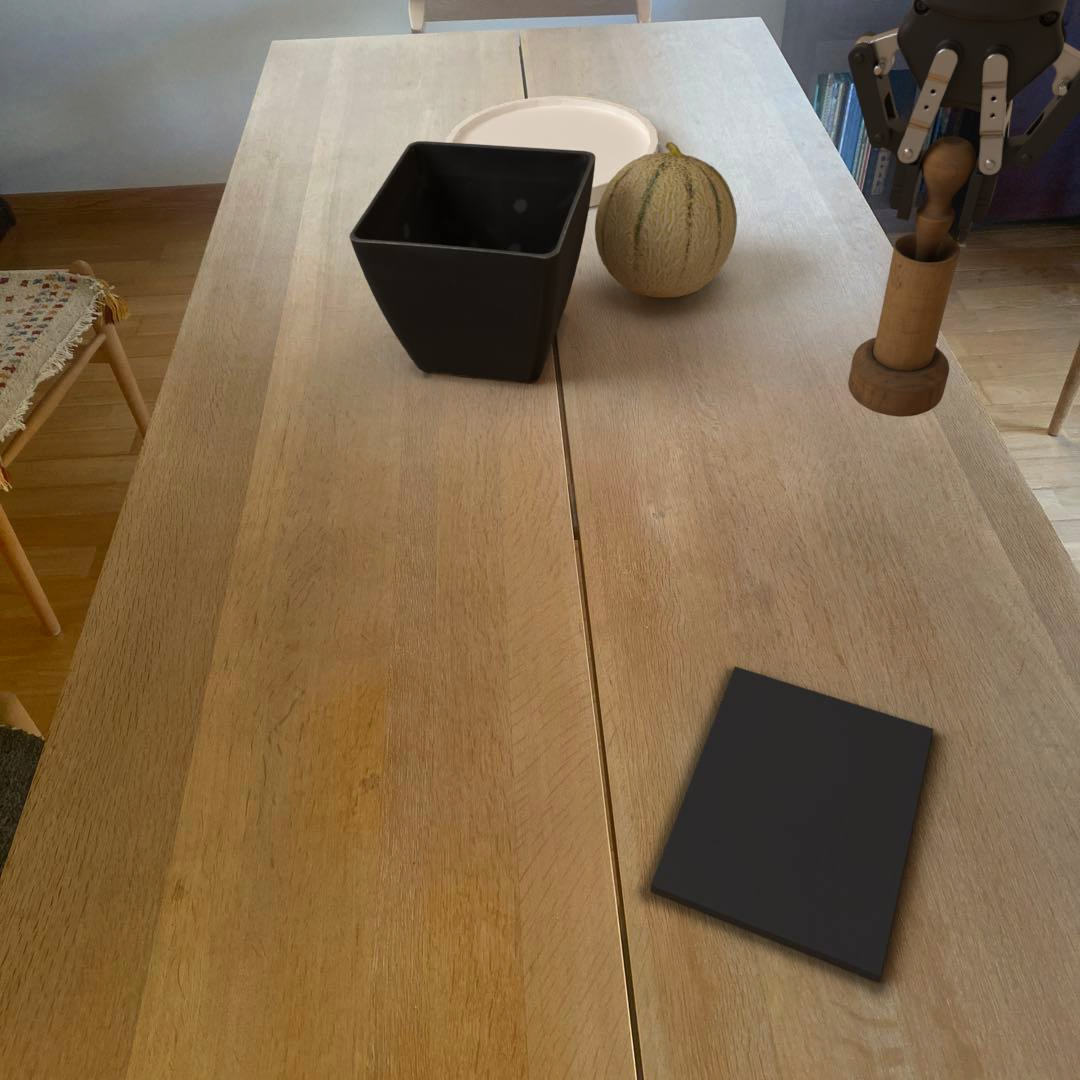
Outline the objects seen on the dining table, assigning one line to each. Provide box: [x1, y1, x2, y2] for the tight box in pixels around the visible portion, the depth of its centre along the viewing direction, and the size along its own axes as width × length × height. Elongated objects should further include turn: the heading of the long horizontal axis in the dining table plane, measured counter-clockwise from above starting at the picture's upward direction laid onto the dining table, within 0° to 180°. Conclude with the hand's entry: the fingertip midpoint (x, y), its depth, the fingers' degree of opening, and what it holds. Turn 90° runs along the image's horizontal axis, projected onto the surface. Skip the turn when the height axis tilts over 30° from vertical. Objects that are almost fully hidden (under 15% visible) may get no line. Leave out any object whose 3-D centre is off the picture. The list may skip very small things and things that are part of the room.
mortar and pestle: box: [847, 135, 977, 418], centre depth 64 cm, size 7×6×18 cm
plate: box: [444, 95, 659, 208], centre depth 131 cm, size 28×28×2 cm
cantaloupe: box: [594, 141, 738, 298], centre depth 104 cm, size 15×15×15 cm
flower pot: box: [348, 140, 595, 384], centre depth 97 cm, size 19×19×17 cm
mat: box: [650, 666, 934, 983], centre depth 65 cm, size 14×18×1 cm
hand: (935, 218), depth 61 cm, fingers closed on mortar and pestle, 3 cm apart
